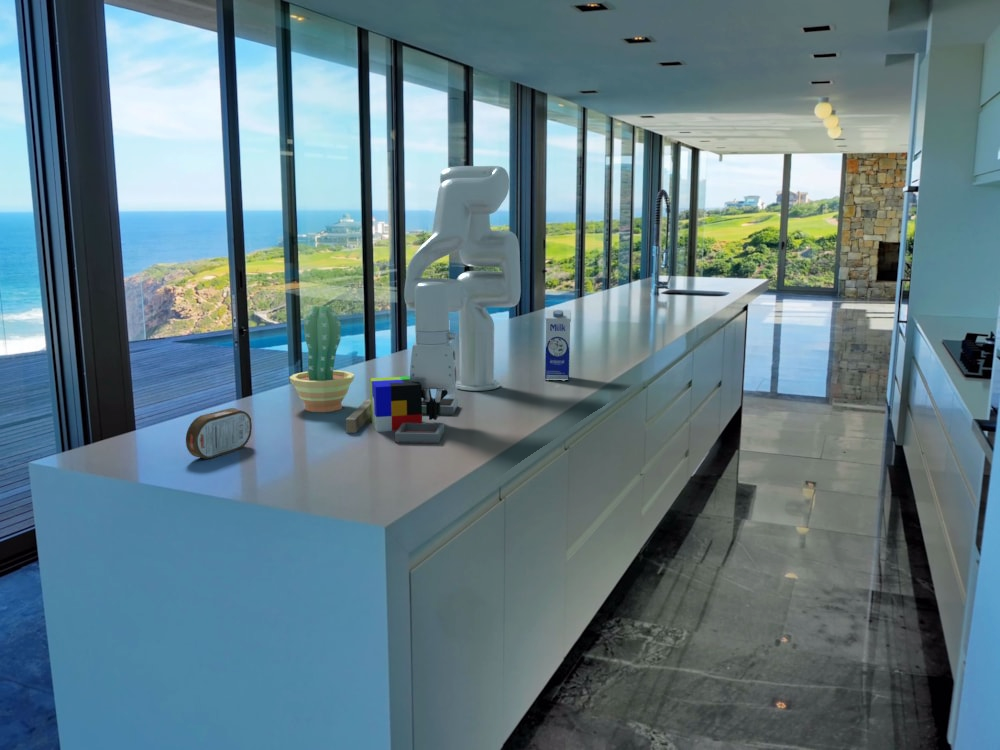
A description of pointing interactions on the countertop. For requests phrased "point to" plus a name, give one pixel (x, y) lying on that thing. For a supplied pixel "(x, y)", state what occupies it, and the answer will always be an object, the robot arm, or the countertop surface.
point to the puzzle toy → (395, 402)
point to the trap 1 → (419, 433)
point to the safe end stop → (358, 417)
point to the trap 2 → (444, 406)
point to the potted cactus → (322, 363)
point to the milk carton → (557, 344)
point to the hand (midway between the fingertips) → (433, 418)
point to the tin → (218, 433)
